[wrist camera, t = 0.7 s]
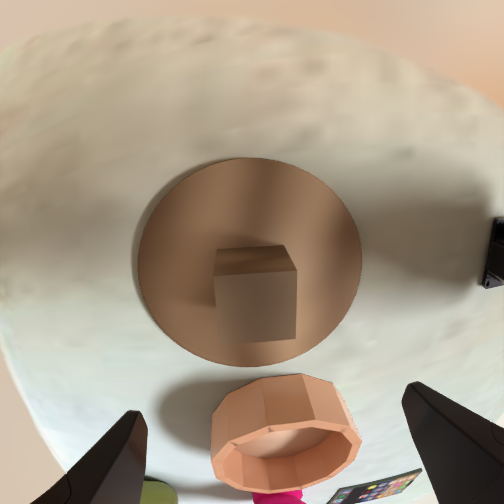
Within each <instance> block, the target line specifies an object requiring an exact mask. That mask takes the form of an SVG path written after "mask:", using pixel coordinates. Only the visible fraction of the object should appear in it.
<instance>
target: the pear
mask: <svg viewBox="0 0 504 504" xmlns="http://www.w3.org/2000/svg"><path fill="white" fill-rule="evenodd" d="M140 504H178V496H177V494H176V492H175V491H174V489H173V488H172V487H170V486H169V485H167V484H165V483H163V482H159V481H144V482H143V488H142V494H141V500H140Z"/></svg>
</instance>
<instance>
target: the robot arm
mask: <svg viewBox="0 0 504 504" xmlns="http://www.w3.org/2000/svg"><path fill="white" fill-rule="evenodd" d="M502 285H504V218H496V219H495V221H494V224H493V230H492V237H491V243H490V249H489V254H488V259H487V264H486V269H485V273H484V277H483V282H482V286H483V287H484V288H485V289H489V288H493V287H497V286H502ZM402 407H403V410H404V413H405V416H406V419H407V423H408V426H409V429H410V433H411V436H412V438H413V441H414V443H415V446H416V448H417V450H418V453H419V455H420V457H421V460H422V462H423V465H424V467H425V469H426V472H427V474H428V477H429V479H430V482H431V484H432V487H433V489H434V492H435V494H436V497H437V500H438V502H439V504H504V428H502V427H500V426H498V425H496V424H495V423H493V422H490V421H489V420H487V419H485V418H483V417H482V416H480V415H478V414H476V413H474V412H472V411H471V410H469V409H467V408H465V407H463V406H462V405H460V404H458V403H456V402H454V401H453V400H451V399H449V398H447V397H446V396H444V395H442V394H440V393H438V392H437V391H435V390H433V389H431V388H430V387H428V386H426V385H424V384H423V383H421V382H419V381H416V382H413V383H409V384H408V385H407V387H406V389H405V392H404V395H403V397H402ZM147 436H148V428H147V425H146V422H145V420H144V418H143V415H142V413H141V412H140V411H135V410H129V411H127V412H126V413H125V414H124V415H123V416H122V417H121V418H120V419H119V420H118V421H117V422H116V423H115V424H114V425H113V426H112V427H111V428H110V429H109V430H108V431H107V432H106V433H105V434H104V435H103V436H102V437H101V439H100V440H99V441H98V442H97V443H96V444H95V445H94V446H93V447H92V448H91V449H90V450H89V451H88V452H87V453H86V454H85V455H84V456H83V457H82V458H81V459H80V460H79V461H78V462H77V463H76V464H75V465H74V466H73V467H72V468H71V469H70V470H69V471H68V472H67V474H65V475H64V476H63V477H62V478H61V479H60V480H59V481H57V482H56V483H55V484H54V485H53V486H52V487H51V488H50V489H49V490H47V491H46V492H45V493H44V494H42V495H41V496H40V497H38V498H37V499H36V500H34V501H33V502H32V503H30V504H140V500H141V494H142V488H143V482H144V476H145V469H146V452H147Z"/></svg>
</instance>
